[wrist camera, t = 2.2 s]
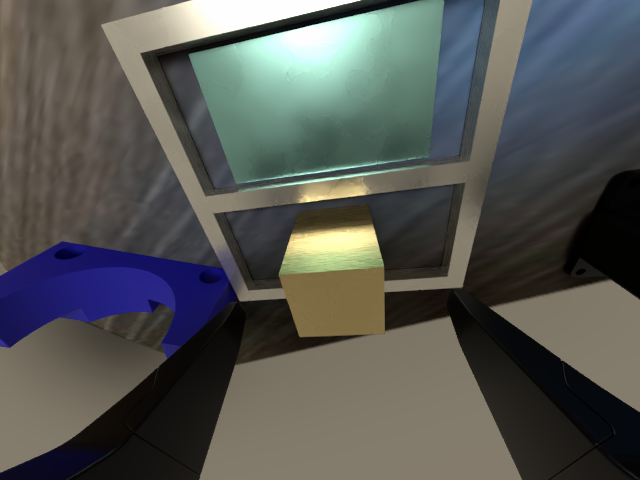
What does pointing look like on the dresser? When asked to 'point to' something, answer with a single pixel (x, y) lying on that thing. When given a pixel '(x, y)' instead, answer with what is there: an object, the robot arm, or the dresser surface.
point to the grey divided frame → (322, 111)
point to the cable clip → (109, 291)
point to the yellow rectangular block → (334, 273)
